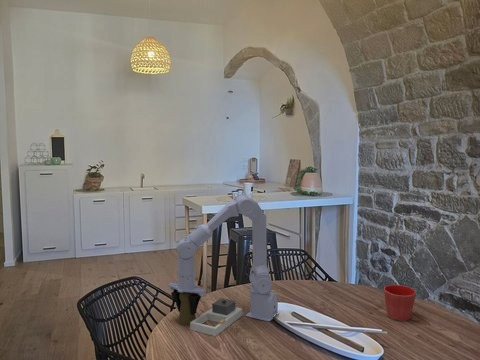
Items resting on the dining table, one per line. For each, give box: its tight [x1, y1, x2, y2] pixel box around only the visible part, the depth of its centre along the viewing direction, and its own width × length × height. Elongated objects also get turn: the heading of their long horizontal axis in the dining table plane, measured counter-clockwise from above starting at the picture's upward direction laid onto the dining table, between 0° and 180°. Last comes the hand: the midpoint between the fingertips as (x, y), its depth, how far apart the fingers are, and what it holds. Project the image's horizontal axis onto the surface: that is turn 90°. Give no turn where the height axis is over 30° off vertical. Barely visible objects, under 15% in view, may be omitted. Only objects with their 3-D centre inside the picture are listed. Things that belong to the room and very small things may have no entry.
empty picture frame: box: [189, 297, 243, 337], centre depth 143 cm, size 10×18×6 cm, turn 151°
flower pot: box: [383, 284, 417, 322], centre depth 146 cm, size 11×11×10 cm
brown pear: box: [178, 292, 197, 327], centre depth 143 cm, size 6×6×11 cm
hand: (187, 312), depth 143 cm, fingers closed on brown pear, 5 cm apart
